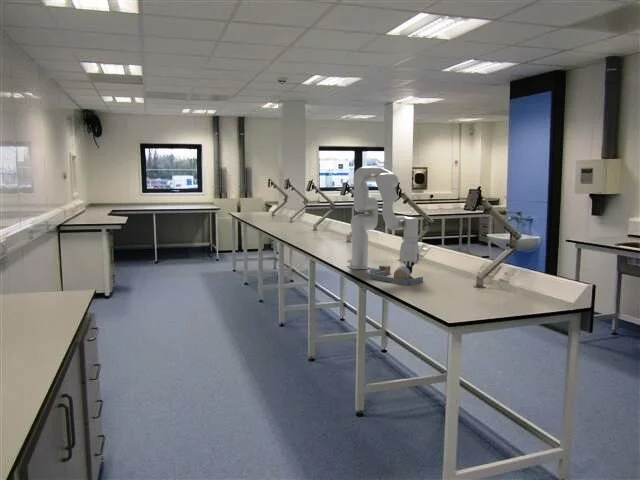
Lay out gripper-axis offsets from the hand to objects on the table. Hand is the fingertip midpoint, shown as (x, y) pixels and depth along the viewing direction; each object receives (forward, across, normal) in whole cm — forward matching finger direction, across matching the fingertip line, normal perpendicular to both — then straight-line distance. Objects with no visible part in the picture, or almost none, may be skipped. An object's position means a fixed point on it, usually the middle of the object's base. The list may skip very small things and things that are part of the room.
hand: (408, 273), depth 280 cm
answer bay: (+2, 0, -13) cm, 13 cm away
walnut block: (+2, -15, -2) cm, 15 cm away
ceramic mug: (+2, +5, -13) cm, 14 cm away
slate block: (+2, -15, -11) cm, 19 cm away
